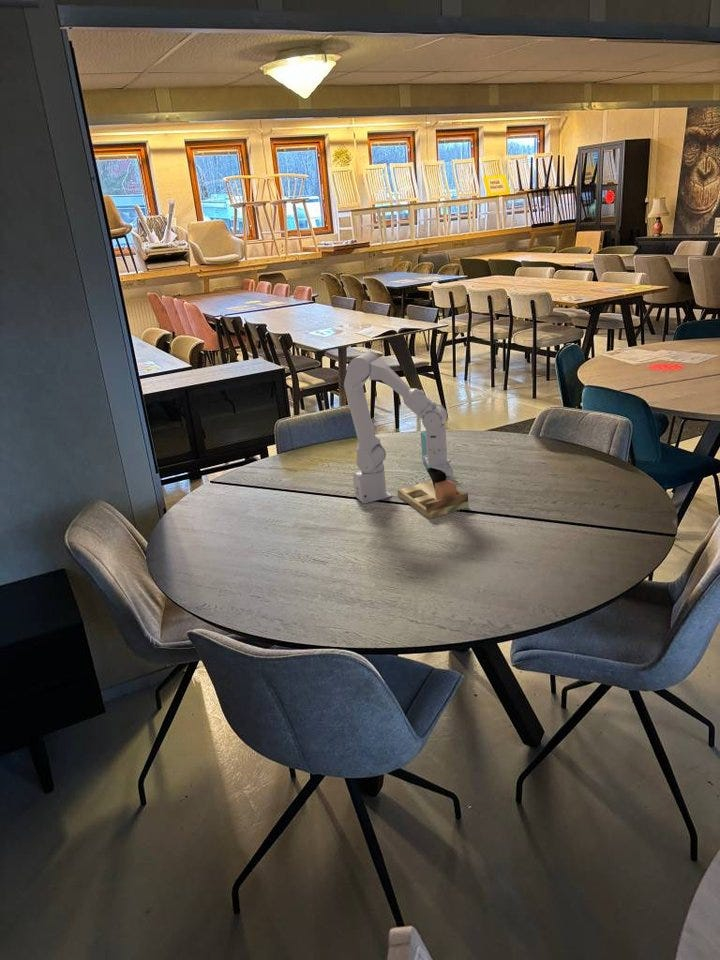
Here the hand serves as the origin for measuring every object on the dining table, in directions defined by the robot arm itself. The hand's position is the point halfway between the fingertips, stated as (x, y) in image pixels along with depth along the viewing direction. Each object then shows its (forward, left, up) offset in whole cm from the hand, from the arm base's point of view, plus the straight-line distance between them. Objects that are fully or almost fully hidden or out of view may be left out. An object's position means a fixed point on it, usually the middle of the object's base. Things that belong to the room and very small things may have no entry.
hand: (439, 491), depth 199 cm
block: (0, -4, -1) cm, 4 cm away
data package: (+11, +25, -3) cm, 27 cm away
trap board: (-2, +1, -3) cm, 4 cm away
